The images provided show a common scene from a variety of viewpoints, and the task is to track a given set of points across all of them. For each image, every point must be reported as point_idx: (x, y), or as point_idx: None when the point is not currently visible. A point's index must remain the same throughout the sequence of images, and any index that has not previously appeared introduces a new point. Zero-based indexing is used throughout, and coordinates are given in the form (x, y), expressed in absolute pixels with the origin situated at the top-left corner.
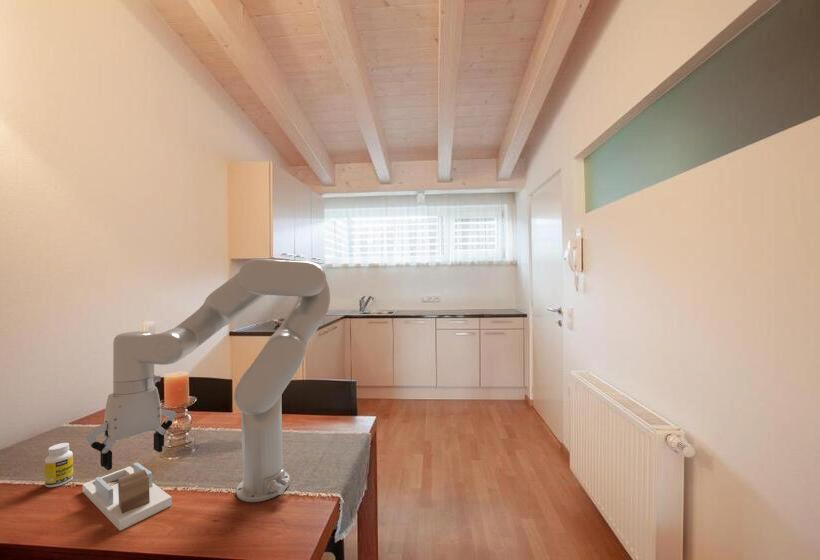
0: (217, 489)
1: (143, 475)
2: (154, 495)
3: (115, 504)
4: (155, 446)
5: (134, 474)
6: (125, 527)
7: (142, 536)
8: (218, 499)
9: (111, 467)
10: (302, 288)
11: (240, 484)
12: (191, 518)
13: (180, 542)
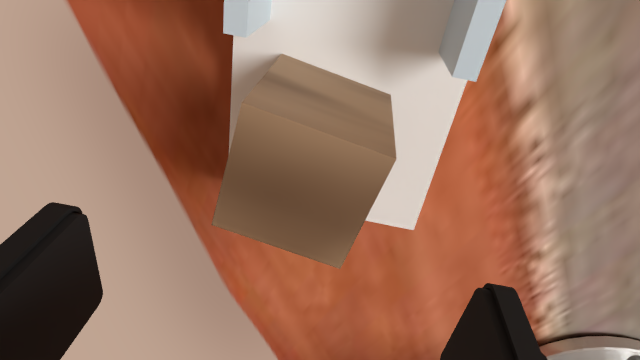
0: (548, 277)
1: (338, 227)
2: (396, 151)
3: (271, 41)
4: (471, 350)
5: (323, 159)
6: None
7: (264, 258)
8: None
9: (92, 308)
10: None
11: (569, 357)
12: (379, 314)
13: (300, 352)
